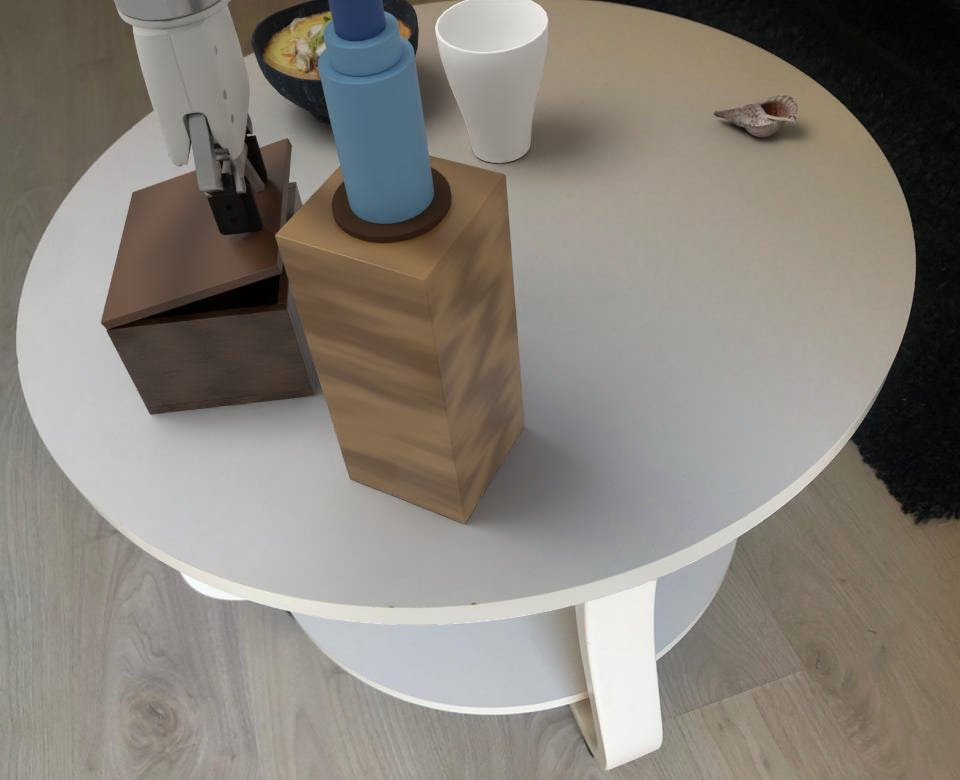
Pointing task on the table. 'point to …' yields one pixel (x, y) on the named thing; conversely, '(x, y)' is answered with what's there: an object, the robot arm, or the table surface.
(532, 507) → the table surface
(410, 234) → the coaster
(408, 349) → the stand
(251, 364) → the brown wooden box
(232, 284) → the wooden box lid
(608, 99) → the table surface
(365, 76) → the bottle
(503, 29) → the cup
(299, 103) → the bowl
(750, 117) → the seashell
